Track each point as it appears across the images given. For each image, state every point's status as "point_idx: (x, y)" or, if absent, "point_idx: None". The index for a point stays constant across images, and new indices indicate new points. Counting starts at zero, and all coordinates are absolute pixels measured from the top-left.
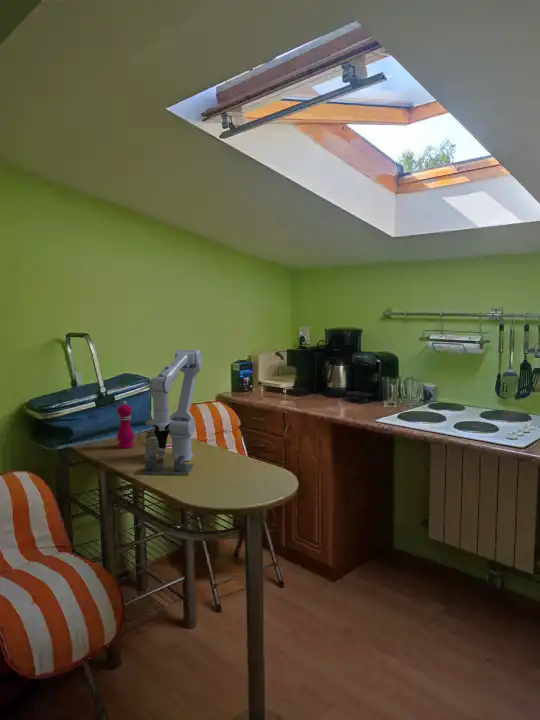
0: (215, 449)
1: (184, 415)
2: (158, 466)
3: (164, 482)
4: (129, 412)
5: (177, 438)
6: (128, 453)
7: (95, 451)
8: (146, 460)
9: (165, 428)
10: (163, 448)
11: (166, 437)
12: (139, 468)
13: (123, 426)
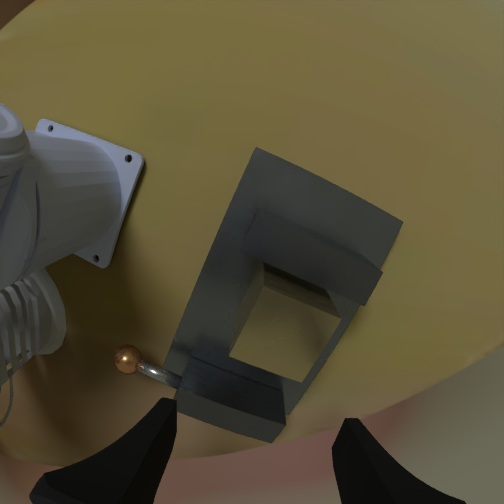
0: (23, 23)
1: None
2: (228, 352)
3: (432, 340)
4: None
5: (31, 254)
6: (5, 383)
7: (3, 439)
8: (268, 438)
9: (132, 500)
10: (14, 294)
11: (414, 481)
12: None
13: None
